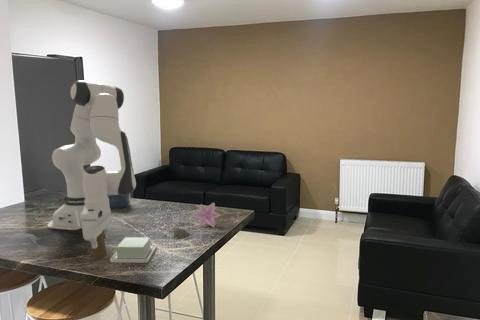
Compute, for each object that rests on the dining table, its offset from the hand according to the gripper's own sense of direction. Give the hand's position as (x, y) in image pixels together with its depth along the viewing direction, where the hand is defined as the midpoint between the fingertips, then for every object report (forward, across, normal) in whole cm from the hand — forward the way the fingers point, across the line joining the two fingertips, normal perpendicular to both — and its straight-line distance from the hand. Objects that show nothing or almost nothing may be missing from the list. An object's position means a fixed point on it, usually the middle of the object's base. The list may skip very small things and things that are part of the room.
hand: (99, 243), depth 151 cm
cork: (+5, 0, -1) cm, 5 cm away
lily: (+5, -36, +38) cm, 53 cm away
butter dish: (+5, 0, +13) cm, 14 cm away
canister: (+5, -67, -15) cm, 69 cm away
